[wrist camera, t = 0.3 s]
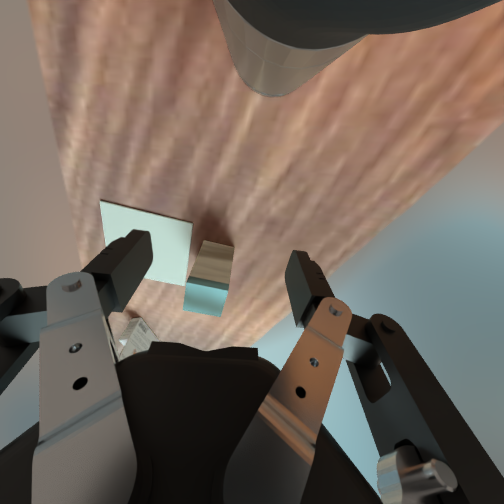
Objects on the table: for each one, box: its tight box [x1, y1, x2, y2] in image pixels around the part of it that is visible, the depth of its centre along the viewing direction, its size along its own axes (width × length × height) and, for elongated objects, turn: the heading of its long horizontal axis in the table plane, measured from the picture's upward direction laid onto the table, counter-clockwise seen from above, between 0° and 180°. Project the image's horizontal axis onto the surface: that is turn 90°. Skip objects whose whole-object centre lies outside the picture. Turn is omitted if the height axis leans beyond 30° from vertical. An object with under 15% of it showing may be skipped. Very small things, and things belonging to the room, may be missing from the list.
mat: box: [100, 201, 193, 286], centre depth 33 cm, size 13×13×1 cm
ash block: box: [183, 240, 235, 317], centre depth 29 cm, size 5×5×10 cm
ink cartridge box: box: [119, 317, 160, 360], centre depth 41 cm, size 2×11×10 cm, turn 12°
